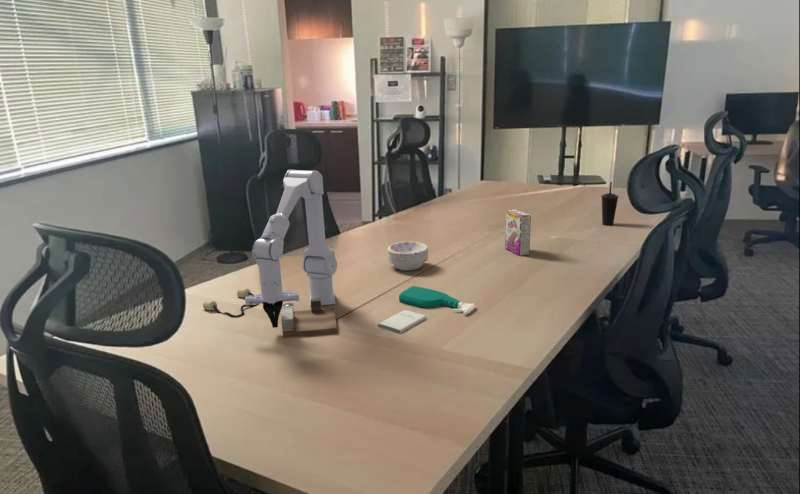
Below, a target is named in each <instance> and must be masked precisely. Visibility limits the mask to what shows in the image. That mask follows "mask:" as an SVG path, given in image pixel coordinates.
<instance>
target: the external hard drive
mask: <svg viewBox="0 0 800 494" xmlns="http://www.w3.org/2000/svg"><path fill="white" fill-rule="evenodd" d="M425 320H427V316H426V314H422V313H417V312H414V311H412V310H408V309H404V310H402V311H400V312H398V313H396V314H394V315H392V316H390V317H388V318H387V319H385V320H383V321H381V322H379V323H378V324H377V326H378V327H379V328H382V329H385V330H388V331H392V332H394V333H397V334H402V333H404V332H405V331H407V330H409V329H411V328H412V327H415V326H416V325H418V324H419V323H421V322H422V321H425Z"/></svg>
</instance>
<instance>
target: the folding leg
mask: <svg viewBox="0 0 800 494" xmlns="http://www.w3.org/2000/svg"><path fill="white" fill-rule="evenodd" d="M294 306H295V305H294V303H293V302H287V303H283V305H282V310H281V312H282V313H281V329H282V333H283V332H286V331H293V330H294V311H295V308H294Z"/></svg>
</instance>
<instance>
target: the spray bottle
mask: <svg viewBox="0 0 800 494" xmlns="http://www.w3.org/2000/svg"><path fill="white" fill-rule="evenodd" d="M398 300H399V302H400V303H403V304H406V305H411V306H413V307H418V308H427V309H429V308H435V307H440V306H445V307H448V308H452V309H451V311H452V312H462V315H463V316H466V315H468V314H471V313H472V312H473V311H474V310H476V306H475V303H467V302H462V301H460V300H459V299H457V298H455V297H453V296H450V295H449V294H447V293H444V292H443V291H439V290H434V289H432V288H431V289H430V288H425V287H421V286H415V285H413V286H411V287H408V288H407V289H405V290H404V291H402V292H400V294H399V297H398Z"/></svg>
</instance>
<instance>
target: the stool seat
mask: <svg viewBox="0 0 800 494" xmlns="http://www.w3.org/2000/svg"><path fill="white" fill-rule="evenodd" d="M337 328H338V327H337V319H336V310H335V307H327V308H322V305H321V298H317V299H311V306H310V309H305V310H294V330H293V331H286V332H282V339H285V338H296V337H305V336H306V337H307V336H315V335H326V334H329V335H330V334H337V333H338V329H337Z"/></svg>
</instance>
